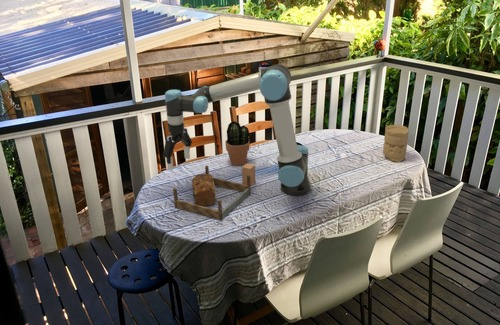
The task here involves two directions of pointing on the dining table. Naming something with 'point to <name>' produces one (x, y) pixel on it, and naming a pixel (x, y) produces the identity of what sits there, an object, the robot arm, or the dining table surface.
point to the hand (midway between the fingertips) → (179, 163)
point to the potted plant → (237, 143)
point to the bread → (203, 189)
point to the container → (395, 142)
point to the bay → (218, 213)
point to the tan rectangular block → (248, 173)
